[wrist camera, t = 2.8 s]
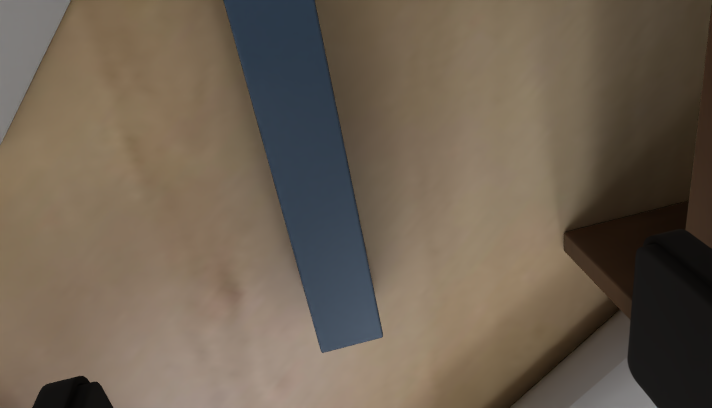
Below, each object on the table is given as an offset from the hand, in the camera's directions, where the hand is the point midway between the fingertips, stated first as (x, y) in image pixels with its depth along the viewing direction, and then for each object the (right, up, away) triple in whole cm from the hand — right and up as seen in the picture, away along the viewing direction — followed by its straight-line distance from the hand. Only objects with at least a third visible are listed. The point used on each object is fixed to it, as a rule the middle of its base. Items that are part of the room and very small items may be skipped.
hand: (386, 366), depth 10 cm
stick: (-3, +7, +14) cm, 16 cm away
